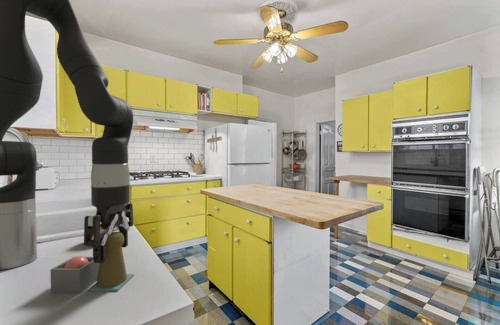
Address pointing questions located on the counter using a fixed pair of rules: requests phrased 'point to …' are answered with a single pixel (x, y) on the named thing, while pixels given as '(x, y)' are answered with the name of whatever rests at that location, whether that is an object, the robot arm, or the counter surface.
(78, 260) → the salmon pink ball
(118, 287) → the tile
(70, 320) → the counter surface
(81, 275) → the housing
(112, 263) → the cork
